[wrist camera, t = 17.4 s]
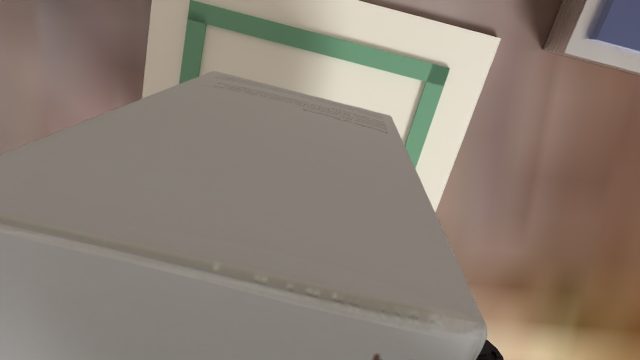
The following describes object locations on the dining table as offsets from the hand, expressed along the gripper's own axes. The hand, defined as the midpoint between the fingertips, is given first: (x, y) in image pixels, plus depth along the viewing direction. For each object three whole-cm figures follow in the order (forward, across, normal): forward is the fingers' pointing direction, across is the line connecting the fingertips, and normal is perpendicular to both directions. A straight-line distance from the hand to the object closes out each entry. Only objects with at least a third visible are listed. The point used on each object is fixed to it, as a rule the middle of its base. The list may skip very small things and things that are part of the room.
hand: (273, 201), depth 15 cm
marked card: (+6, 0, 0) cm, 6 cm away
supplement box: (+3, 0, 0) cm, 3 cm away
